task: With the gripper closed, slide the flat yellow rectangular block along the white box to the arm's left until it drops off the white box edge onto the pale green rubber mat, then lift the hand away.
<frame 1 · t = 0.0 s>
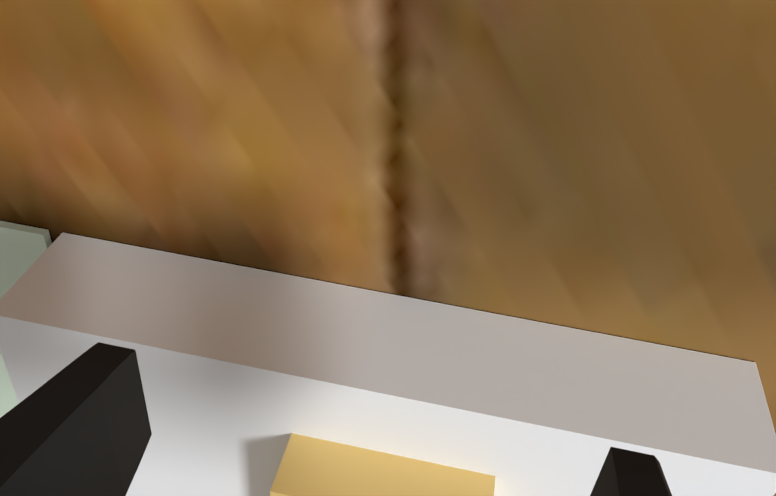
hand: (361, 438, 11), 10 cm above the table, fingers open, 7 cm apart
white box: (376, 435, 27), on the table
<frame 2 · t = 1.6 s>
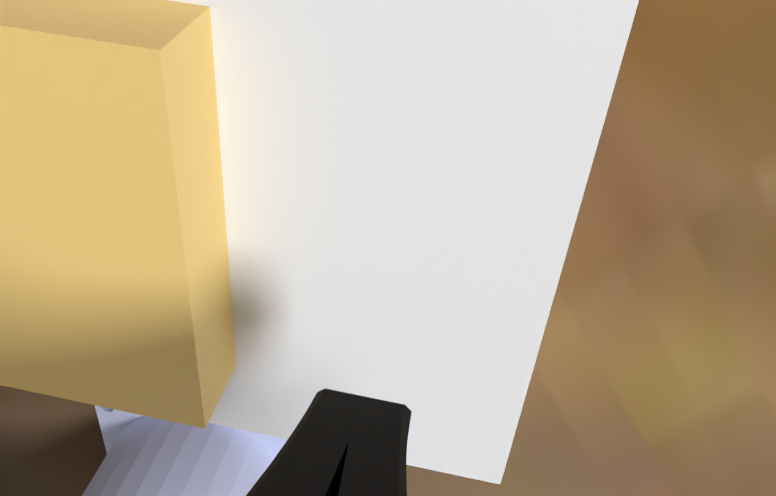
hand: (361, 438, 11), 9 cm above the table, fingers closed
yellow rectangular block: (92, 193, 16), point 4 cm above the table, touching white box
white box: (134, 105, 19), on the table
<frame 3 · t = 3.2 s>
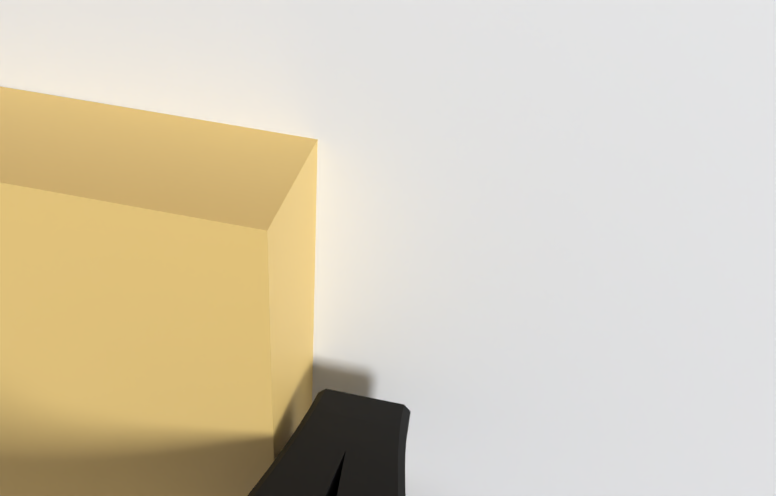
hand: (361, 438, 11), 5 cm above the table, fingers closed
yellow rectangular block: (138, 346, 12), point 4 cm above the table, touching white box
white box: (245, 218, 15), on the table
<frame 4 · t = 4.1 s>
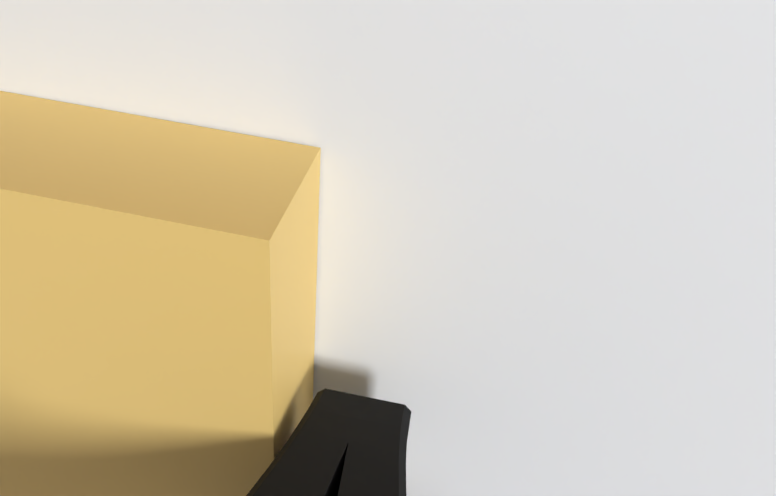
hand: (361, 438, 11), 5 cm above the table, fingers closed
yellow rectangular block: (140, 349, 12), point 4 cm above the table, touching white box, gripper
white box: (551, 273, 15), on the table
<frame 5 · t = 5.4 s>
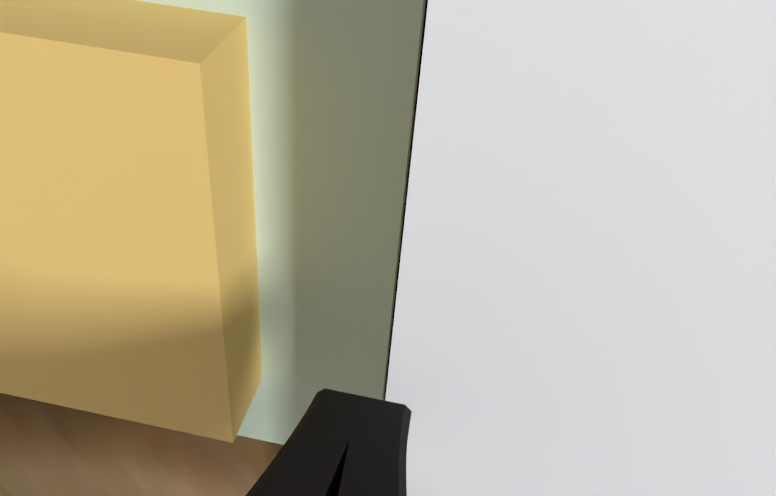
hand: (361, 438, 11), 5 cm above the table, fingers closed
yellow rectangular block: (69, 262, 14), point 2 cm above the table, tilted 180°, touching mat
mat: (147, 201, 16), on the table
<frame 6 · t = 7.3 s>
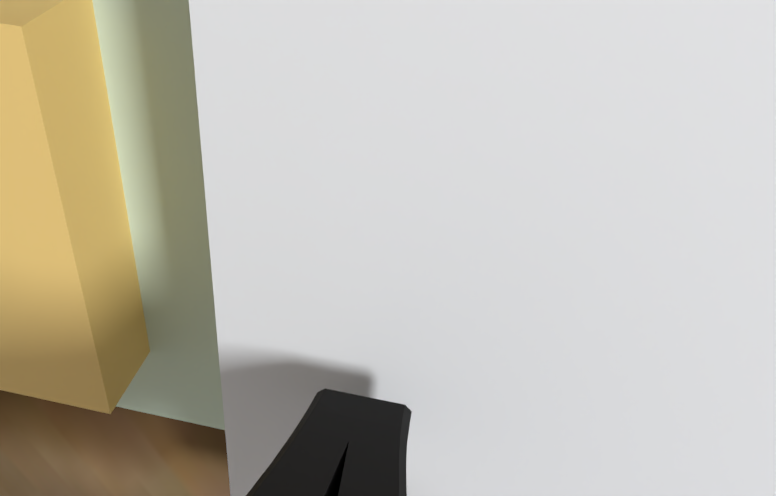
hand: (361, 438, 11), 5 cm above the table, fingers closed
mat: (21, 172, 16), on the table
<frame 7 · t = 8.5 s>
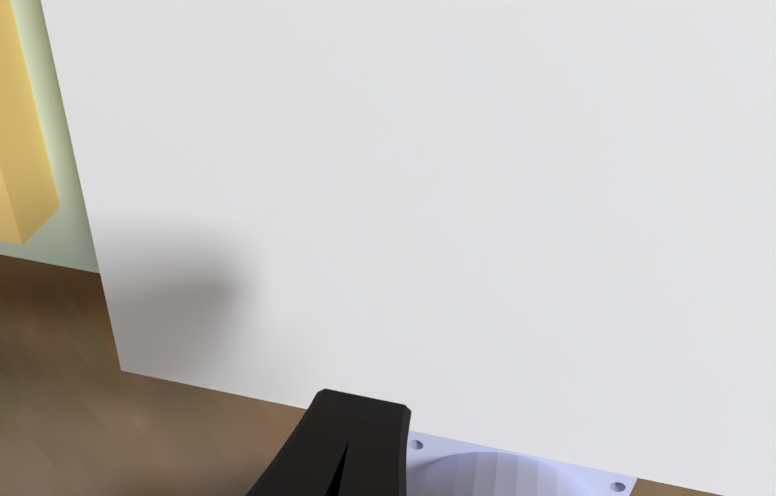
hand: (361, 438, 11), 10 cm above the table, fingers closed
white box: (563, 152, 19), on the table
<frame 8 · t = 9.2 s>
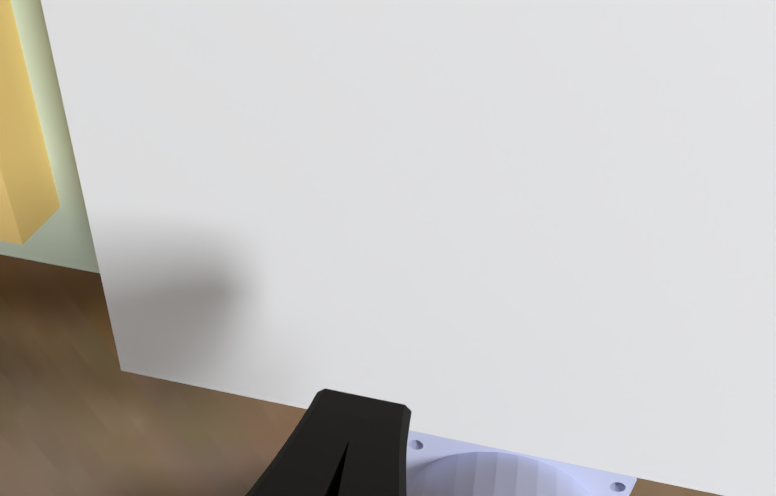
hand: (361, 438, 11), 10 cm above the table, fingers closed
white box: (563, 152, 19), on the table
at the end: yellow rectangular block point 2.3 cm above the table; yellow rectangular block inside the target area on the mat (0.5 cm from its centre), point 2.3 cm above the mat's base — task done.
